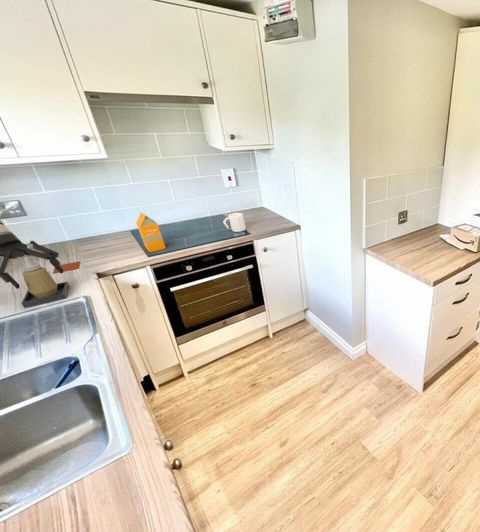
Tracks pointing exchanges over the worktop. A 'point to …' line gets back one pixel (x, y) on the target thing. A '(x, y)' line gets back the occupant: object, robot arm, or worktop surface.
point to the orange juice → (150, 233)
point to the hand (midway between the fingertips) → (41, 279)
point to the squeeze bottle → (38, 279)
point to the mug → (236, 222)
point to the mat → (68, 266)
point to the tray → (33, 301)
